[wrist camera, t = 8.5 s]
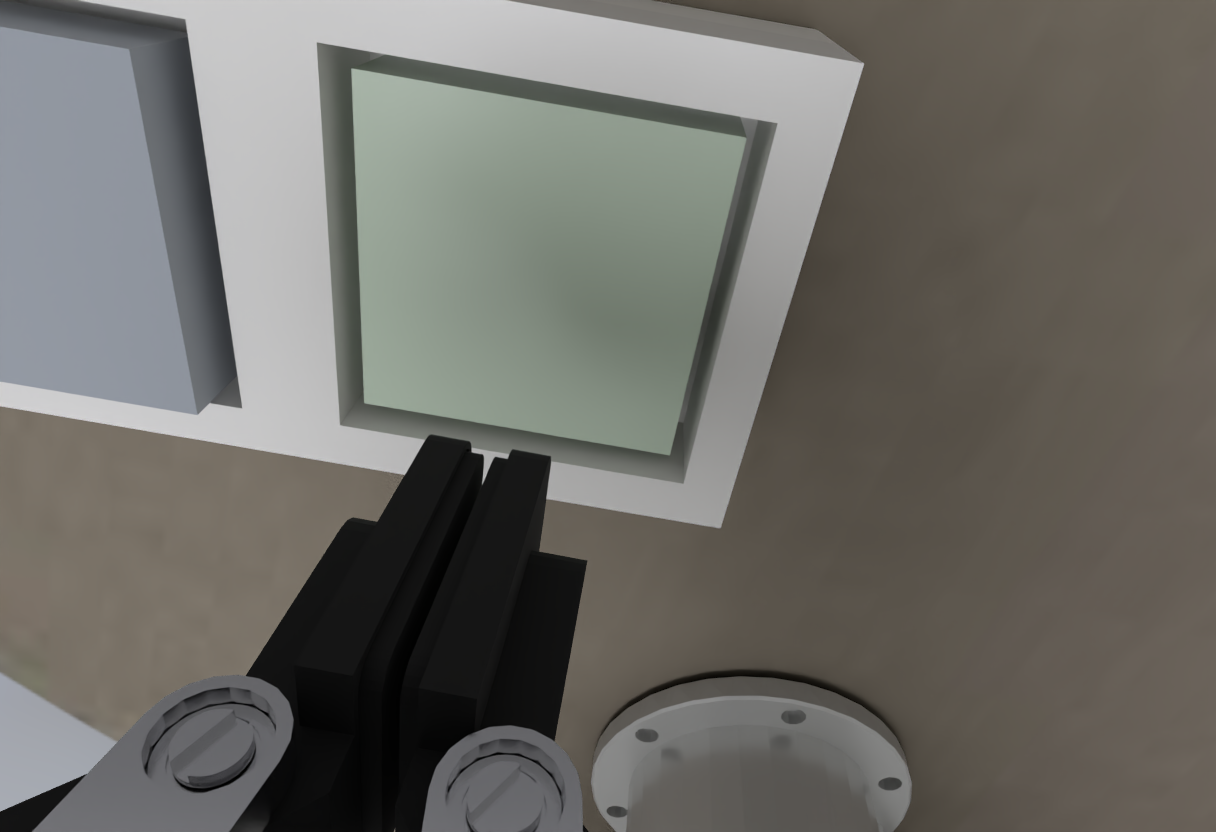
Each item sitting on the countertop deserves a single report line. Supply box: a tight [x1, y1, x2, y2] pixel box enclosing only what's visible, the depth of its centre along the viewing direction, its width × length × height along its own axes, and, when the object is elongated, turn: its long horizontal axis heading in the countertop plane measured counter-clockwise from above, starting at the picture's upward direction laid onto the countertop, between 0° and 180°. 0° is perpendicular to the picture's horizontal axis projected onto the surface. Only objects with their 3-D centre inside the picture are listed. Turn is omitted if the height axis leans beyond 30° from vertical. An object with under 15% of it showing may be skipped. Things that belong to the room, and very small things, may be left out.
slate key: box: [0, 0, 237, 415], centre depth 14 cm, size 7×7×2 cm
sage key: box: [351, 54, 747, 455], centre depth 16 cm, size 7×7×2 cm
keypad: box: [0, 0, 864, 528], centre depth 17 cm, size 30×10×5 cm, turn 82°
